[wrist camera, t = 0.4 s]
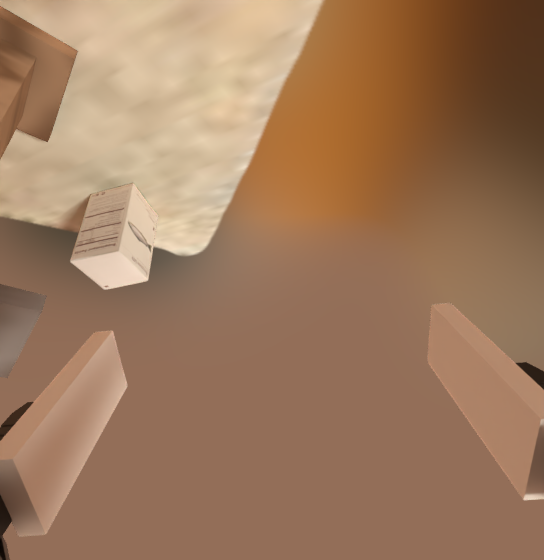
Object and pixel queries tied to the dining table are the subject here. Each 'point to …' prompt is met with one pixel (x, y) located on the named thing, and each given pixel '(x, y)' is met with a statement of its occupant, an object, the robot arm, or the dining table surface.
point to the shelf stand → (33, 120)
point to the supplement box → (116, 238)
